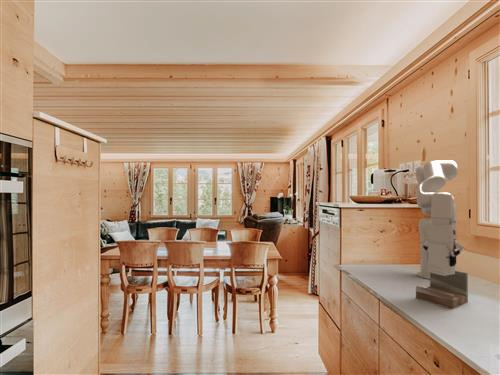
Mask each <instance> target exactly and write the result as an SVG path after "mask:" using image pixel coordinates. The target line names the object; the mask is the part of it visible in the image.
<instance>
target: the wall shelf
mask: <svg viewBox="0 0 500 375" xmlns="http://www.w3.org/2000/svg"><path fill="white" fill-rule="evenodd" d="M468 275H469V274H468V272H467V271H461V270H456V269H455V274H451V275H446V276H443V275H439V274H434V273H430V279H429V280H430V281H429V286H428V287H425V286H419V285H416V286H415V298H416V299H417V300H421V301H425V302H428V303H431V304H435V305H438V306H441V307H446V308H448V309H455V308H458V307H459V306H461V305H464V304H466V303H468V301H469V300H468V299H469V297H468V296H469V293H468V290H469V289H468V287H469V286H468V284H469V282H468V281H469V280H468V279H469V276H468Z"/></svg>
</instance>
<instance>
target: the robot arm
mask: <svg viewBox="0 0 500 375" xmlns="http://www.w3.org/2000/svg"><path fill="white" fill-rule="evenodd" d="M458 173H459V167H458V164H457V162H455V161H454V160H451V159H450V160H449V159H448V160H447V159H446V160H430V161H427V162H426V163H424V165H421V166H420V165H419V166H418V167H416V169H415V178H416V182H417V184H418V186H417V187H416V191H415V197H416V204H417V207H419V209H421V213H422V214H423V215H425V216H430V217H424V218H421V219H420V220H419V221H418V231H419V241H420V248H419V249H420V252H419V253H420V254H419V255H420V259H419V260H420V261H419V262H420V263H419V264H420V268H419V269H420V270H419V271H418V272H417V273H416V275H417V276H418V277H419V278H422V279H427V280H430V272H428V243H439V244H447V245H448V249H449V252H450V254H451V256H450V266H455V267H456V265H457V257H458V256H459V255H460V254H462V252H463V251H465V249H466V248H465V246H463V245H462V244H461V243H460V242H458V239H457V238H458V237H457V233H458V223H457V222H458V219H457V218H458V217H457V205H456V202H455V198H454V196H453V194H452V193H449V192H440V189H442V188H444V187H445V185H446V183H447V181H452V180H453V179H455V178H456V177H457V175H458ZM454 245H455V248H453V247H454Z"/></svg>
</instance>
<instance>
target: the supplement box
mask: <svg viewBox="0 0 500 375" xmlns="http://www.w3.org/2000/svg"><path fill="white" fill-rule="evenodd" d="M453 248H455V245H454V247H453ZM450 256H451V254H450V252H449V249H448V245H447V244H439V243H428V272H430V273H434V274H439V275H443V276H446V275H451V274H455V270H456V265H455V266H450Z"/></svg>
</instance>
